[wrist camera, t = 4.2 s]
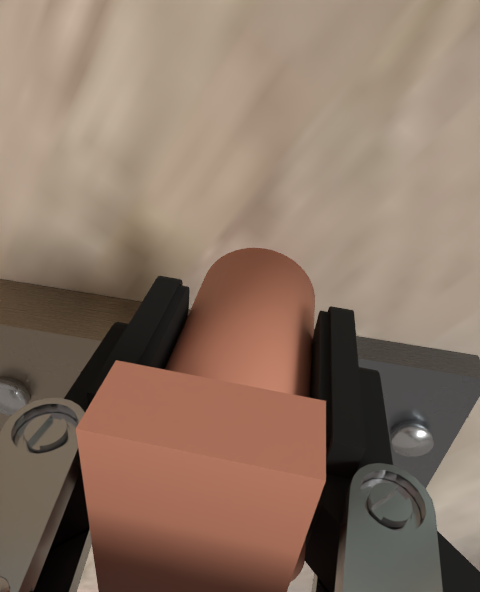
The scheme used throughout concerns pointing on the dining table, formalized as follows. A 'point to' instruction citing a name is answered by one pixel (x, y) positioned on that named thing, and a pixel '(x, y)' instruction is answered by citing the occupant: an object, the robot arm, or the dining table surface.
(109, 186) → the dining table surface
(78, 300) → the studded slotted plate
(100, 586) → the orange t-shaped block
